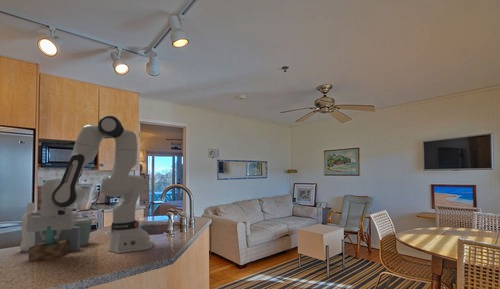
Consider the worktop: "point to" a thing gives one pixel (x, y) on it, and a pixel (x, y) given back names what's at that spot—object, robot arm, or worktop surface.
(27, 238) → the water bottle
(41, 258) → the socket block
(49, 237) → the dowel
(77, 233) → the wall
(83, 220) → the disposable coffee cup
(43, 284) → the worktop surface
